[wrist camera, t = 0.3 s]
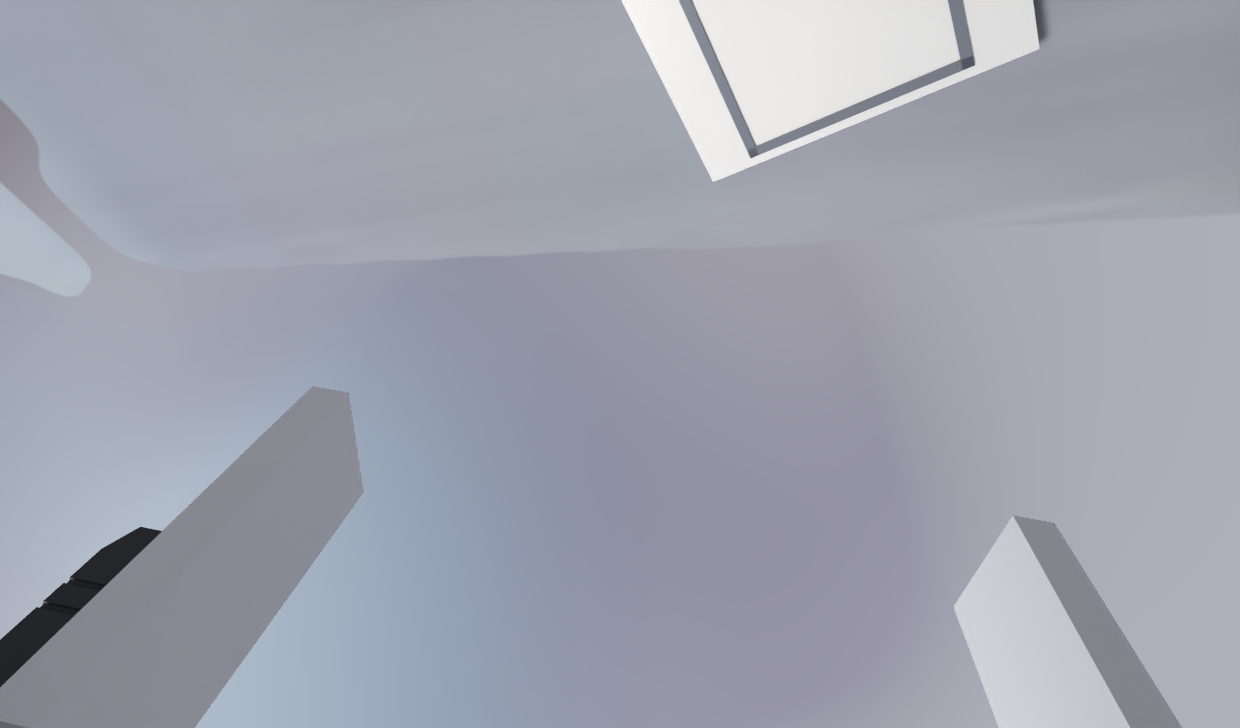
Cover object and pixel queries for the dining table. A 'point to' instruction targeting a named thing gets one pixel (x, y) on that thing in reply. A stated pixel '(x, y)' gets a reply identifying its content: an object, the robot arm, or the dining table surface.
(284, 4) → the dining table surface
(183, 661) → the robot arm
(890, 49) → the white flat piece
